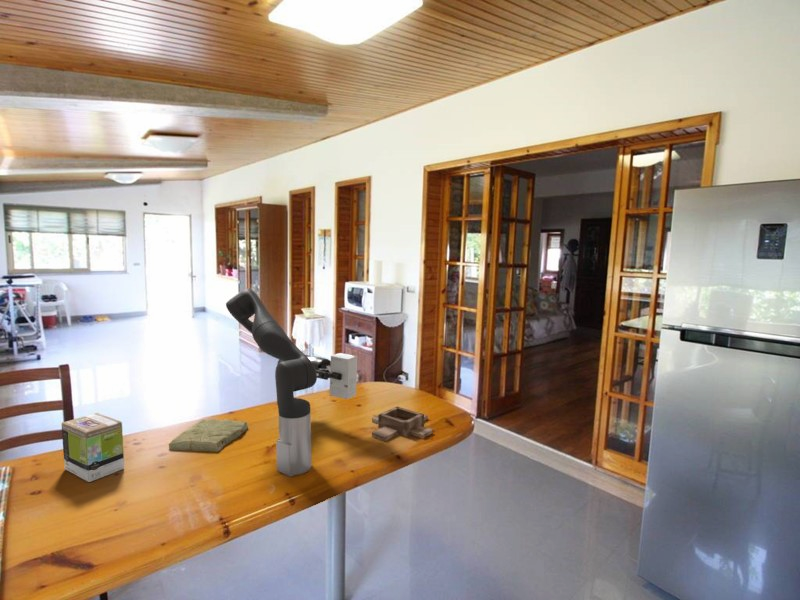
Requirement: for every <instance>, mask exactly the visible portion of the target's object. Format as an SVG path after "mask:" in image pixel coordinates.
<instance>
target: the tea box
mask: <svg viewBox="0 0 800 600" xmlns="http://www.w3.org/2000/svg"><path fill="white" fill-rule="evenodd" d="M61 435H62V451H63V464H64V470H66V471H68V472H70V473H71V474H73V475H75V476H76V477H78V478H80V479H82V480H84V481H86V482H88V483H90V482H93V481H96V480H99V479H101V478H104V477H106V476H109V475H112V474H114V473H116V472H119V471H121V470H124V469H125V457H124V455H125V454H124V453H125V452H124V451H125V450H124V437H123V422H122V421H121V420H117V419H116V418H115V419H114V418H112V417H109V416H106V415H105V414H102V413H101V414H100V413H99V412H96V413H92V414H88V415H85V416H81V417H78V418H74V419H70V420H67V421H63V422H61Z"/></svg>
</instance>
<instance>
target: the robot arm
mask: <svg viewBox="0 0 800 600" xmlns="http://www.w3.org/2000/svg"><path fill="white" fill-rule="evenodd" d="M225 306H226V309H227V311H228V312H229V314H230V315H231V316H232V317H233V318H234V319H235V321H236V322H238V323H239V324H240V325H241V326H243V328H245V329H246V330H247V331H248V332H249V333H251V334H252V338H253V340H254V341H255V343H256V344H257V347H259V349H260V350H261V351H262V352H263V353H265V354H267V355H269V356H270V357H273V358H275V359H277V360H278V361H277V364H276V367H275V370H274V372H275V374H274V375H275V376H274V377H275V379H274V380H275V389H276V402H277V403H276V404H277V409H278V437H279V438H278V439H276V443H275V444H276V446H275V447H276V471H277V472H280V473H282V474H284V475H285V476H287V477H289V478H290V477H293V476H298V475H303V474H304V473H305V474H306V472H309V471H310V470H311V468H312V431H311V430H312V429H311V427H312V426H311V425H312V423H311V422H312V420H311V417H312V416H311V414H312V413H311V403H310V402H309V401H308V400H306V399H303V398H298V397H295V396H294V393H295V392H298V391H302V390H307V389H310V388H311V387H313V386H314V385H315V384H316V383H317V380H318V379H321V380H326V381H328V380H330V379H337V380H342V374H340V373H336V372H333V371H330V365H331V359H329V358H325V357H320V356H315V355H308V354H306V353H304V352H303V351H302V350H301V349H299V347H298V346H296V345H295V343H294V342H293V341H292V340H291V338H290V337H289V336H288V335H287V334H286V332H285V330H284V329H283V328H282V326H281V325H280V324H279V323H278V321H276V319H275V318H274V317H273V316H272V315H271V313H270V312H269V310H268V309H267V307H266V306H265V304H264V303H263V301H262V300H261V298H260V296H258V294H257V293H256V292H255V291H254V290H253V289H251V288H245V289H243V290H241V291H240V292H238V293H237V294H236V295H234V296H233V297H232V298H230V299H229V300H227V302H226V303H225ZM252 316H253V321H252V320H250V318H252Z"/></svg>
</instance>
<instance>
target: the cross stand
mask: <svg viewBox="0 0 800 600" xmlns="http://www.w3.org/2000/svg"><path fill="white" fill-rule="evenodd" d="M428 419H429V418H428V415H427V414H424V413H421V412H417V411H414V410H411V409H410V410H409V409H407V408H402V407H399V406H395V407H392V408H390V409H387V410H385V411H384V412H381V413H378V415H376V416H374V417H372V418H371V422H372V423H374V424H377V426H378V428H379V429H377V430H375V431H372V432H371V437H372V438H374V439H377V440H380V441H383V442H387V441H389V440H390V439H393V438H394V437H396V436H398V435H400V436H402V437H405V438H407V437H408V436H413V437H415V438H420V439H423V440H424V439H425V438H426V437H428V436H430V435H432V434H433V429H432V428H429V427H428V426H427V427H426V426H425V421H426V420H428Z"/></svg>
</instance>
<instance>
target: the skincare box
mask: <svg viewBox="0 0 800 600" xmlns="http://www.w3.org/2000/svg"><path fill="white" fill-rule="evenodd" d="M358 359H359V358H358V356H357V355H352V354H348V353H342V352H339V353H335V354H332V355H330V361H331V365H330V371H333V372H336V373H340V374H342V380H337V379H330V378H329V396H330V397H334V398H339V399H344V400H349V399H351V398H353V397H355V396H356V395H357V383H358V377H357V376H358Z"/></svg>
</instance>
